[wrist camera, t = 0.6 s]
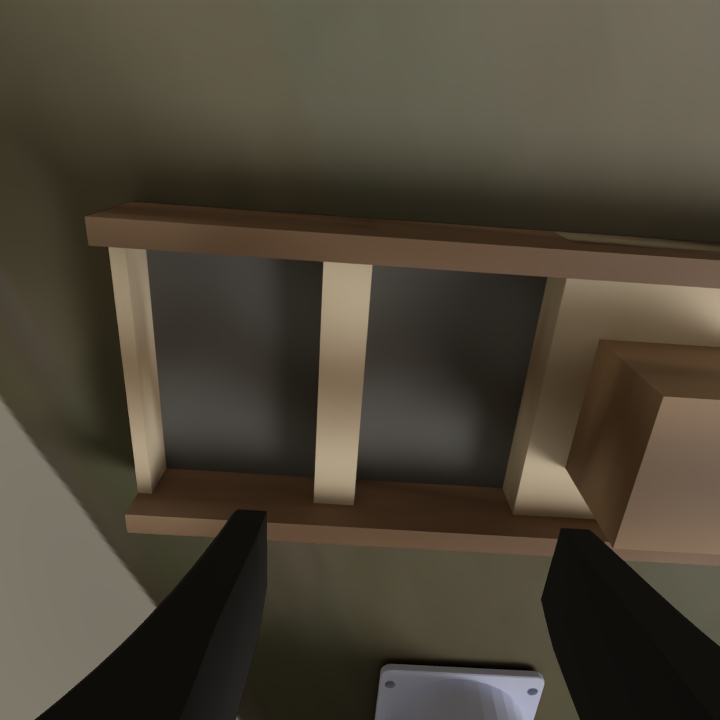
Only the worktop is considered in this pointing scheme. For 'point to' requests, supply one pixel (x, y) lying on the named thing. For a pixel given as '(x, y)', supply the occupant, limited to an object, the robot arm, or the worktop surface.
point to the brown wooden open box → (378, 370)
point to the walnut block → (651, 446)
